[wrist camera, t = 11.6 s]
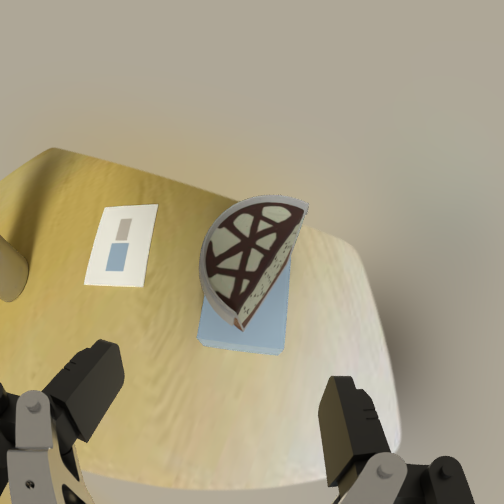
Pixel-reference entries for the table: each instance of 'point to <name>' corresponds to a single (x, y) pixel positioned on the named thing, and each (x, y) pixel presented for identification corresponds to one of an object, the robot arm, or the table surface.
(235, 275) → the food container
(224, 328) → the base brick
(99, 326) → the table surface
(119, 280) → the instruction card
